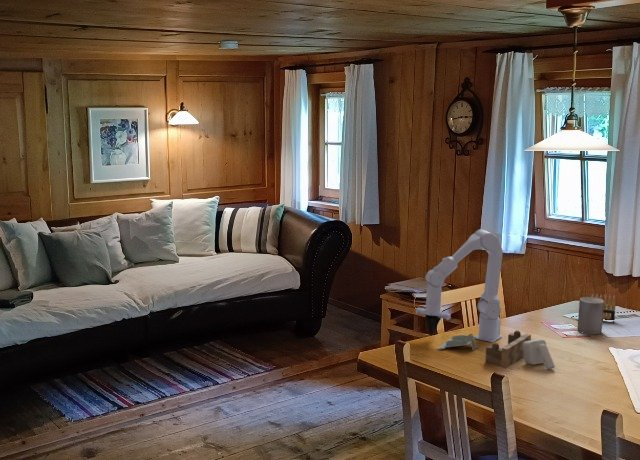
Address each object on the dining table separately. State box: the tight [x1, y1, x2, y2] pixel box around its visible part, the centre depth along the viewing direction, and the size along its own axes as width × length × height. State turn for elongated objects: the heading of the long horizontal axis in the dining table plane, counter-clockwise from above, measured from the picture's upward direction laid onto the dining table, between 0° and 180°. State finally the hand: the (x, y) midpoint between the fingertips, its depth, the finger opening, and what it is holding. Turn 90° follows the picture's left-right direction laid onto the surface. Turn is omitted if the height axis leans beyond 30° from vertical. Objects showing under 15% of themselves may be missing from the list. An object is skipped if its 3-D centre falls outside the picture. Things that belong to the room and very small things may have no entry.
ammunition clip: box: [590, 293, 616, 320], centre depth 332 cm, size 11×2×12 cm, turn 72°
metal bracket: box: [436, 333, 478, 351], centre depth 293 cm, size 14×6×15 cm
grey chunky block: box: [523, 339, 556, 370], centre depth 272 cm, size 8×10×10 cm
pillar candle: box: [577, 296, 604, 335], centre depth 315 cm, size 10×10×15 cm
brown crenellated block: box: [484, 329, 532, 369], centre depth 281 cm, size 23×8×8 cm, turn 143°
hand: (431, 333), depth 300 cm, fingers closed
